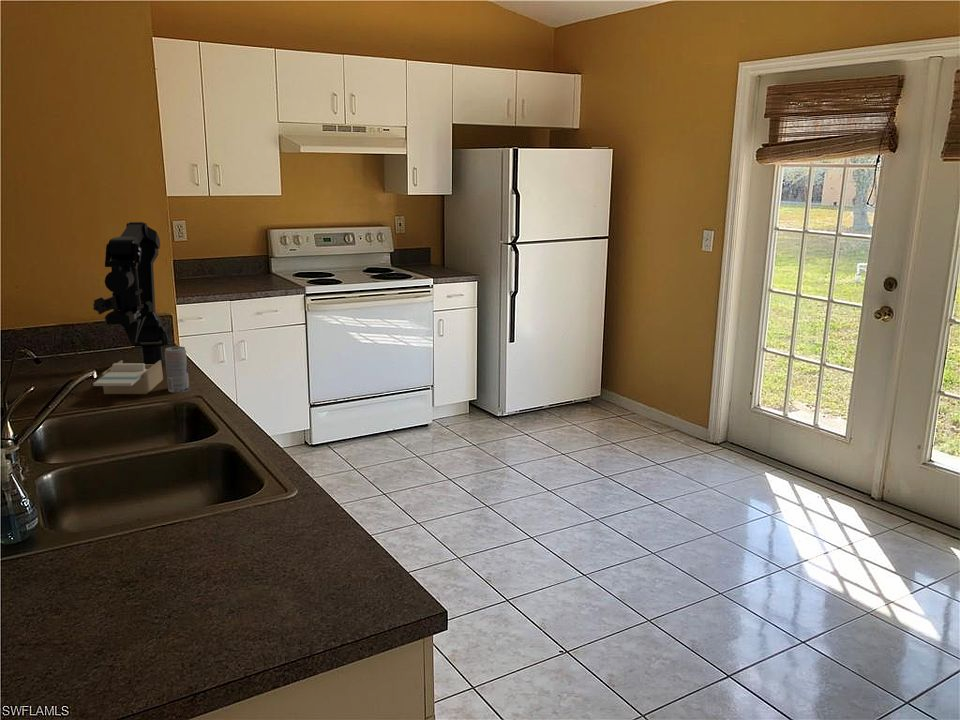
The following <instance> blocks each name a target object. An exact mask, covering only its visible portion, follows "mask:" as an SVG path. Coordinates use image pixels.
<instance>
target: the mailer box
mask: <svg viewBox="0 0 960 720" xmlns="http://www.w3.org/2000/svg"><path fill="white" fill-rule="evenodd" d="M123 361H124V360H123V359H122V360H121V359H120V360H119V361H118V362H117V363H124V362H123ZM162 367H163V366H162V364H161V360H159V361H158V362H157V363H155V364H145V369H148V370H146V371H145V372H144V373H143V377H142V378H141V379H139V380H138V381H137V382H136V383H134V384H133V385H132V386H102V388H103V394H104V395H147V394H148V393H150V392H151V391H152V390H154V388H155V387H156V386H157V385H159V384H160V383H161V382H162V381H164V376H163V368H162ZM111 370H113V365H112V366H110V367H109V368H108V369H106V370H104V371H103V372H101V377H103V376H104V375H106V374H107V373H108V372H110V371H111Z"/></svg>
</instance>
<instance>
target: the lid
mask: <svg viewBox="0 0 960 720" xmlns="http://www.w3.org/2000/svg"><path fill="white" fill-rule="evenodd" d="M112 366H113V370H111V371H110V372H108V373H107V374H106V375H104V376H103V377H102V376H100V377H99V378H98V379H97V380H96V381H94V382H93V383H92V384H93V385H92V386H93V387H103V386H132V385H133V384H134V383H136V382H137V381H138V380H139V379H141V378H142V377H143V373H144V372H145V371H146V370H148V369H145V363H143V362H141V363H139V362H138V363H133V362H132V363H131V362H130V363H124V362H123V363H118V362H116V363H115V362H114V363H112Z"/></svg>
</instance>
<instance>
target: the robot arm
mask: <svg viewBox="0 0 960 720" xmlns="http://www.w3.org/2000/svg"><path fill="white" fill-rule="evenodd" d="M105 246H106V247H105V259H104V267H105V268H110V269H111V271H110V272H108V273H107V274H106V276H105V279H104V285H105V287H106V288H107V289H108V290H109V291H110V292H112V296H110V297H108V298H103V297H99V298H96V299H94V300H93V304H92V306H93V310H94V311H96V312H97V313H98V315H99V316H100V315H103V314H104V313H105V312H106V313H107V312H109V311H110V312H109V313H107V314H106V315H105V316H104V323H105V325H121V326H122V327H123V330H124V331H125V334H126V336H127V338H128V341H129V343H130V344H133V345H134V348H141V358H142V359H141V360H142V363H145V364H155V363H157V362H158V361H159V360H161V364H162V367H163V366H164V365H166V362H165V359H164V357H163V356H164V355H163V347H165V346H167V345H169V337H168V334H167V331H166V329H165V327H164V326H163V321H162V319H161V318H160V316H159V315H158V314H157V313H156V296H155V276H154V275H155V274H154V273H155V272H154V263H155V261H156V260H157V258H158V256H159V249H161V239H160V237H159V234H158V232H157V231H156V230H154V229H153V228H151V227H149V226H148V225H147V223H146V222H144V221H137V222H136V221H130V222H127V223H126V228H125V229H124V230H123V232H122V234H121V235H119V236H118V237H116V236H115V237H112V238H110V239H109V241H108V243H107V244H106V245H105ZM111 310H112V311H111Z"/></svg>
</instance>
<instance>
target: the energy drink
mask: <svg viewBox="0 0 960 720" xmlns="http://www.w3.org/2000/svg"><path fill="white" fill-rule="evenodd" d="M164 360H165V362H166V363H165V369H166V370H165V371H166V379H167V382H166V383H167V390H168V392H170V393H172V394H173V393H177V394H179V393H184V392H188V391H189V390H190V379H189V371H188V359H187V350H186V348H185V346H169V347H166V348H165V350H164Z"/></svg>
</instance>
